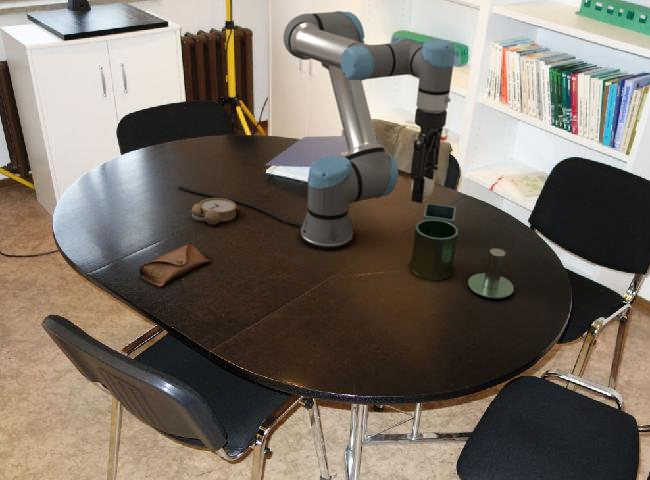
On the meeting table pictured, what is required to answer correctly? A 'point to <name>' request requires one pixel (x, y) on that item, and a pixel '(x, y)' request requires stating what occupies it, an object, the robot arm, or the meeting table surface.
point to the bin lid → (492, 278)
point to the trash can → (433, 249)
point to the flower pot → (439, 212)
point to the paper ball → (427, 188)
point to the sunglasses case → (172, 265)
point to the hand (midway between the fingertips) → (421, 197)
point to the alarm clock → (214, 210)
